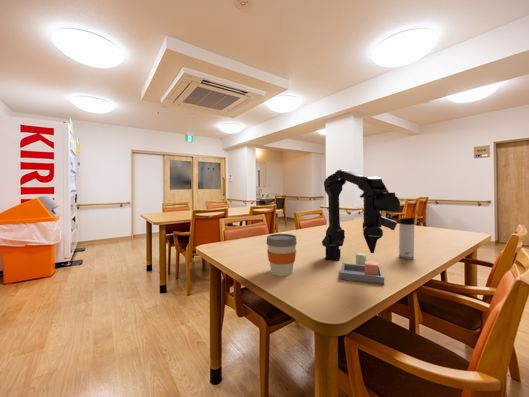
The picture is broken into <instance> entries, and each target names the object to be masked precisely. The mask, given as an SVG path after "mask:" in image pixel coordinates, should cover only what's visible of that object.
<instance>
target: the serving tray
mask: <svg viewBox="0 0 529 397" xmlns="http://www.w3.org/2000/svg"><path fill="white" fill-rule="evenodd" d="M340 280H343V281H345V280H346V281H351V282H352V281H353V282H360V283H369V284H377V285H385V275H384V271H383V268H382V266H378V276H375V275H366V274H365V265H358V264H356V263H346V262H342V264H341V269H340Z"/></svg>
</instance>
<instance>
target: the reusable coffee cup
mask: <svg viewBox="0 0 529 397" xmlns="http://www.w3.org/2000/svg"><path fill="white" fill-rule="evenodd" d="M266 245H267V249H266V250H267V251H266V252H267V258H268V262H269V266H270V267H269V268H270V271H271V274H272V275H273V276H277V277H286V276H287V277H288V276H290V275H292V274H293V271H294V263H295V261H296V253H297V249H296V247H297V236H296V235H294V234H290V233H273V234H269V235H267V236H266Z"/></svg>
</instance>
